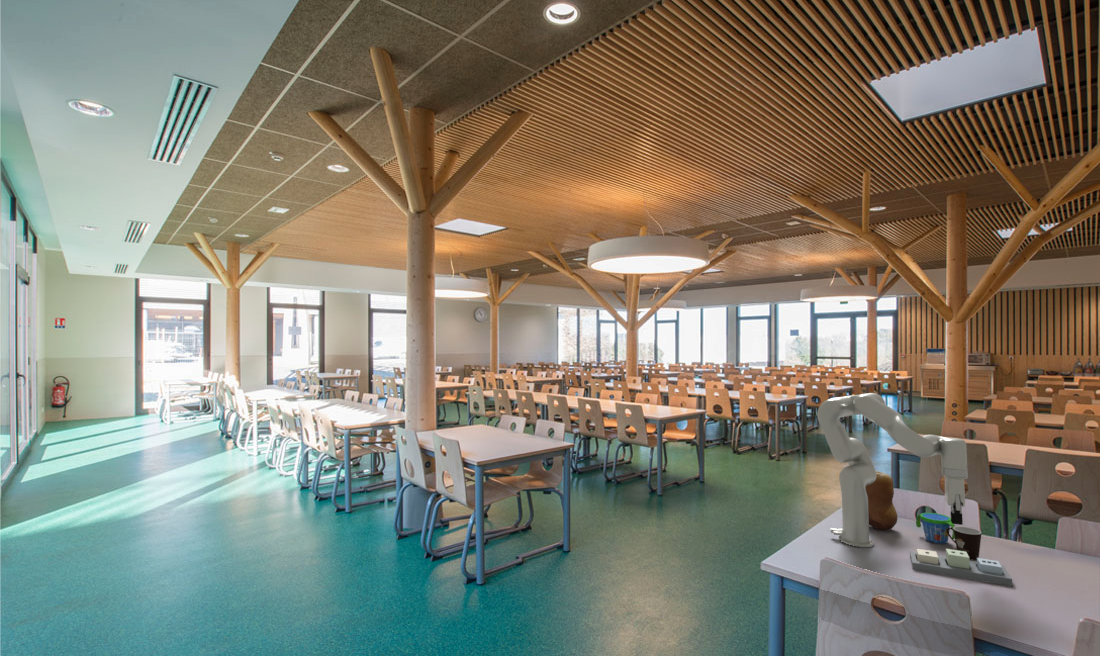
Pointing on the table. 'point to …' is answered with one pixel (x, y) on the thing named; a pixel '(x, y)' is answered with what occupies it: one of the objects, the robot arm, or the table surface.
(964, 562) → the two-dot tile
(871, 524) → the butternut squash
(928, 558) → the tile
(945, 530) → the snack cup
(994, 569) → the tile
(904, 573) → the table surface
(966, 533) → the coffee mug
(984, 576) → the board
